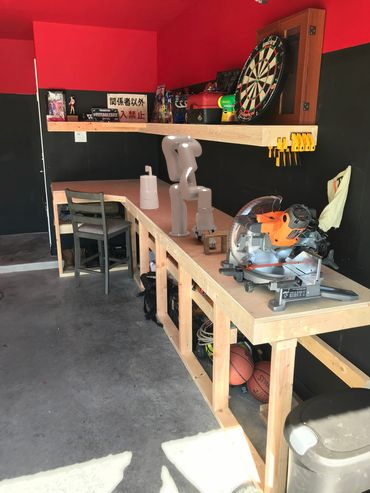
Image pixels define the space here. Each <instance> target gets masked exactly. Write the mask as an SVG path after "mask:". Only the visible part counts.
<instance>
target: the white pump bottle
mask: <svg viewBox="0 0 370 493" xmlns="http://www.w3.org/2000/svg"><path fill="white" fill-rule="evenodd" d="M144 167H145V172H147V173H148V175H147V174H145V175H140V176H139V177H140V178H139V179H140V183H139V184H140V187H139V189H140V190H139V191H140V192H139V200H140V202H139V208H140V209H142V210H155V209H159V208H160V206H159V205H160V204H159V197H158V196H159V195H158V182H157V176H156V175H153V174H152V167H151V166H149V165H145V166H144Z"/></svg>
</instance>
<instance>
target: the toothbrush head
mask: <svg viewBox="0 0 370 493" xmlns="http://www.w3.org/2000/svg"><path fill="white" fill-rule="evenodd" d="M204 234H205V233H203V232H201V234H200V236H201V241H204ZM192 237H193V238H195V239H197V234H196V233H195V232H193V231H192ZM216 247H217V241H216V238H209V248H216Z"/></svg>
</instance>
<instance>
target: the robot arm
mask: <svg viewBox="0 0 370 493" xmlns="http://www.w3.org/2000/svg"><path fill="white" fill-rule="evenodd" d="M161 148H162V149H161V150H162V152H163V155H164V157H165V161H166V166H167V172H168V177H169V179H170V181H172V182H179V183H174V184H171V185H170V187H169V189H168V193H169V198H170V205H171V206H170V207H171V209H170V210H171V218H170V219H171V231H169V233H168V234H169V236H172V237H177V238H178V237H179V238H180V237H181V238H182V237H187V236H189V235H190V234H191V233H190V231H189V230H188V211H187V210H188V209H187V208H188V206H187V204H186V202H185V201H197V211H196V214H195V221H194V226H193V227H192V228H191V231H192V233H193V232H195V233H196V234H197V242H198V243H199V244H201V243H202V239H201V236H200V234H201V233H202V232H203V231H207V232H208V234H212V233H215V231H216V230H217V229H218V227H217V226H216V224H214V223H215V222H214V216H213V215H214V214H213V212H212V211H215V210H214V207H212V189H211V188H208V187H205V186H202V185H197V181H196V174H195V172H196V171H197V169H198V165H197V162H196V157H197V158H198V157H200V156H201V155H202V153H203V150H202V145H201V144H200V142H199V141H198V140H196V139H195V138H194V137H193V136H191V135H190V134H170V135H169V134H168V135H166V136H164V137H163V139H162V141H161ZM175 150H177V151H175Z"/></svg>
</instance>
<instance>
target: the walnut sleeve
mask: <svg viewBox="0 0 370 493" xmlns="http://www.w3.org/2000/svg"><path fill="white" fill-rule="evenodd" d="M203 234H204V240H203V254H204V255H205V256H207V255H210V247H209V238H215V239H216V238H220V252H221V253H223V254H227V252H228V251H227V248H228V246H227V242H228V235H227V233H226V232H213V233H212V234H209V233H203Z"/></svg>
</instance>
